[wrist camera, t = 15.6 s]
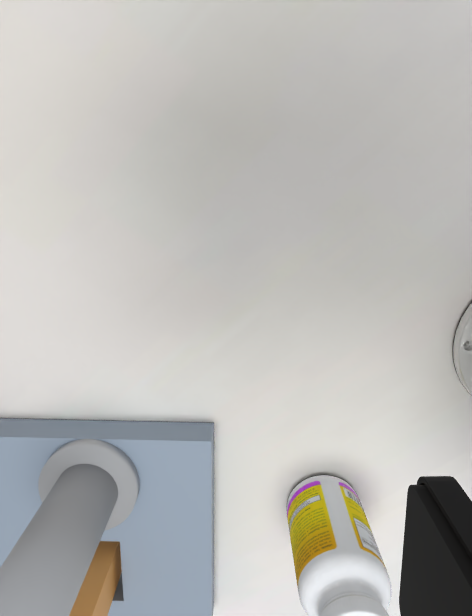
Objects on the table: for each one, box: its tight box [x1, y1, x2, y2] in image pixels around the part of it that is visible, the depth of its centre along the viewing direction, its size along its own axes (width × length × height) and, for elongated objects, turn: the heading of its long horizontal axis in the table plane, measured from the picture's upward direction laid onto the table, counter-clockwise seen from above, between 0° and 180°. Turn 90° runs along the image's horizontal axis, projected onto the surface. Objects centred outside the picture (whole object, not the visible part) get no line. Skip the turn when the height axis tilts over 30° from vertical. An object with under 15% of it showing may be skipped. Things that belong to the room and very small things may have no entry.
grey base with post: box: [0, 418, 214, 616], centre depth 33 cm, size 20×20×17 cm
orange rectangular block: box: [69, 541, 122, 616], centre depth 37 cm, size 2×4×10 cm, turn 176°
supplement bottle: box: [287, 475, 392, 616], centre depth 34 cm, size 7×7×13 cm
